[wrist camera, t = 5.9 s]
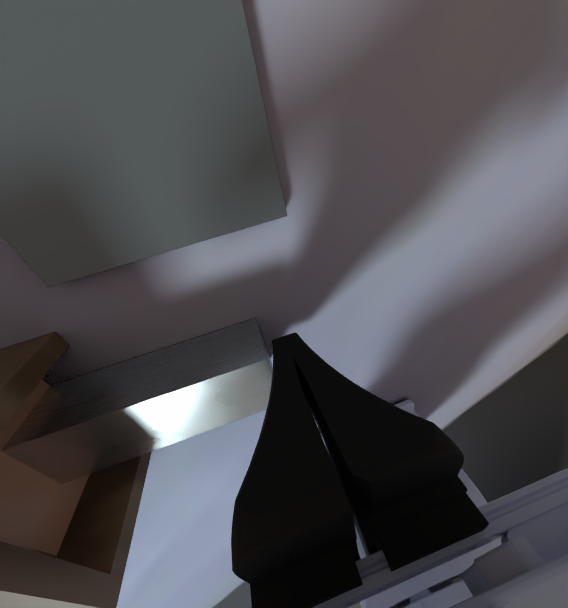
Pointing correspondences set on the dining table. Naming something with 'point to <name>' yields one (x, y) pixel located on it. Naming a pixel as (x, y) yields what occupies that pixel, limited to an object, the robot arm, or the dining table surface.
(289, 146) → the dining table surface
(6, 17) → the coaster
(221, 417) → the silver square bar
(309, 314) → the dining table surface
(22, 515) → the block
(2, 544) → the bracket
